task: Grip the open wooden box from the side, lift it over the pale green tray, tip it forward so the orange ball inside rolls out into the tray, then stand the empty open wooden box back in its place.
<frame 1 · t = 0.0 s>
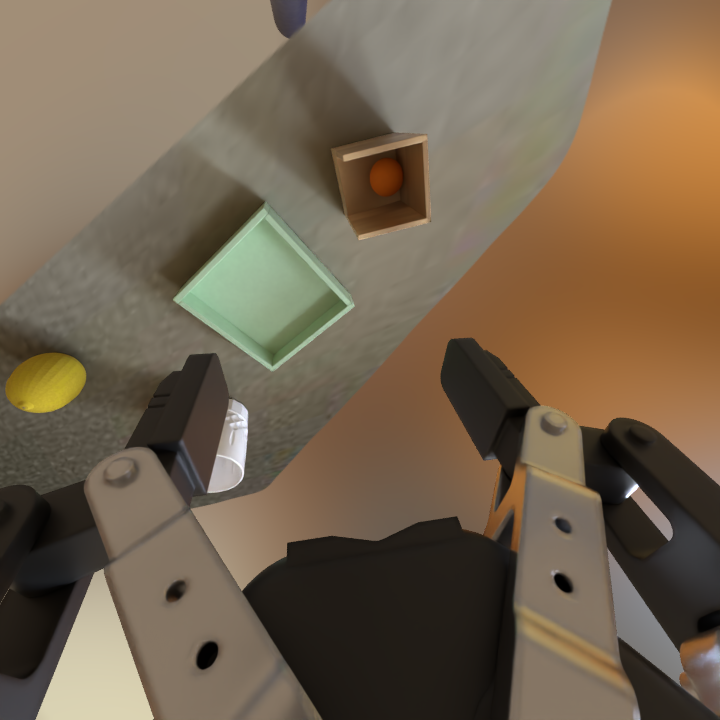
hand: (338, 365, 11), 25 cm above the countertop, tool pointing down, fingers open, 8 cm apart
open wooden box: (366, 176, 30), on the countertop, touching ball
tray: (270, 291, 35), on the countertop
white cup: (224, 412, 45), on the countertop
lemon: (71, 358, 36), on the countertop
ball: (386, 177, 27), point 3 cm above the countertop, touching open wooden box
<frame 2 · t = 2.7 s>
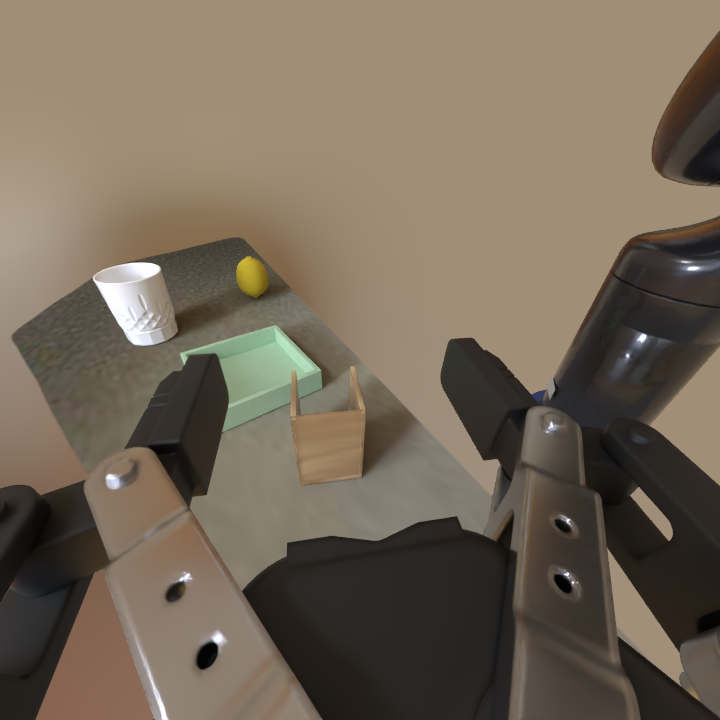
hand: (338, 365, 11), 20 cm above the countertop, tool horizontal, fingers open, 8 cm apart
open wooden box: (328, 453, 32), on the countertop, touching ball
tray: (253, 379, 40), on the countertop
white cup: (155, 335, 48), on the countertop
lemon: (256, 298, 60), on the countertop
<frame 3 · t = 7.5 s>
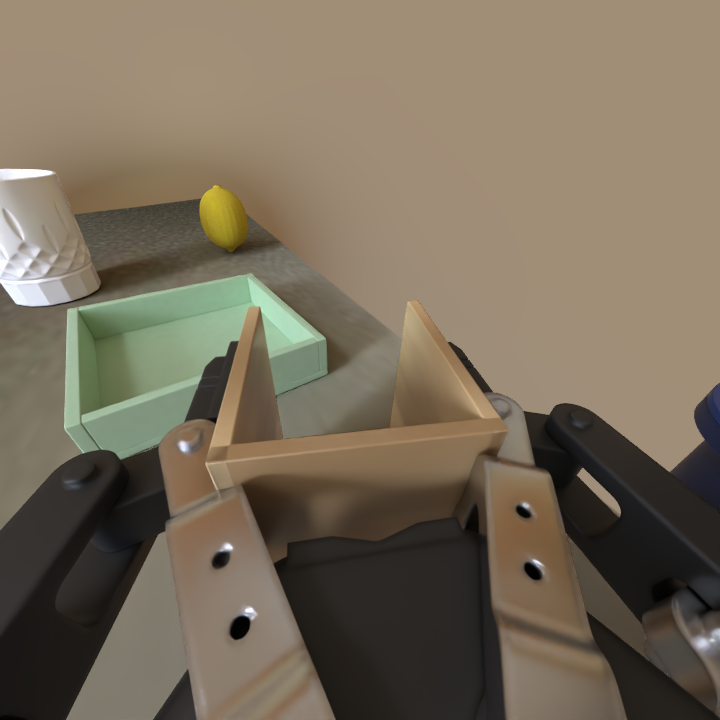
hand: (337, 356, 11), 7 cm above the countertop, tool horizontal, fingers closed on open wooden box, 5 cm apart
open wooden box: (344, 516, 14), on the countertop, touching ball, gripper
tray: (203, 358, 22), on the countertop
white cup: (61, 293, 30), on the countertop
lemon: (231, 253, 42), on the countertop
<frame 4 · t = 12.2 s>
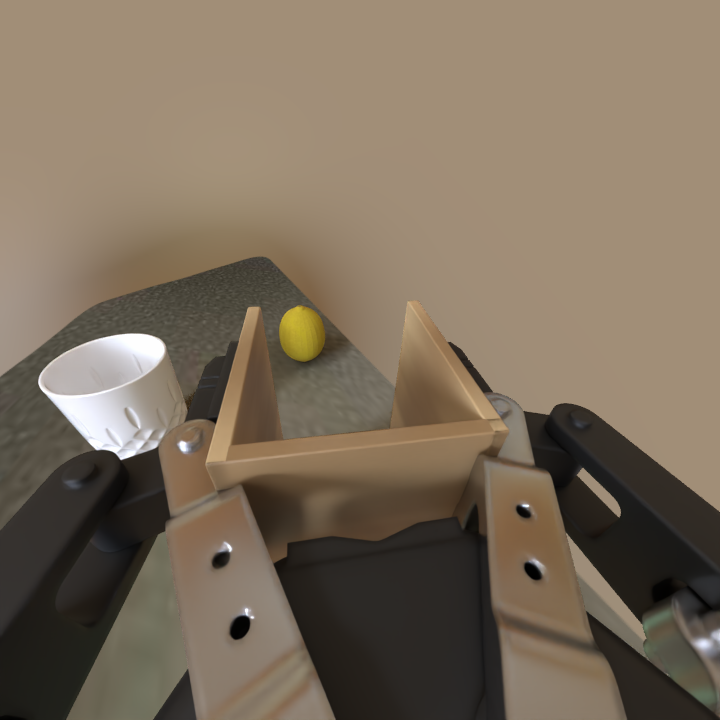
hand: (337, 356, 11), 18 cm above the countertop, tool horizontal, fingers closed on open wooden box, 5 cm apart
open wooden box: (344, 517, 14), point 11 cm above the countertop, touching ball, gripper
white cup: (155, 446, 29), on the countertop
lemon: (305, 362, 41), on the countertop
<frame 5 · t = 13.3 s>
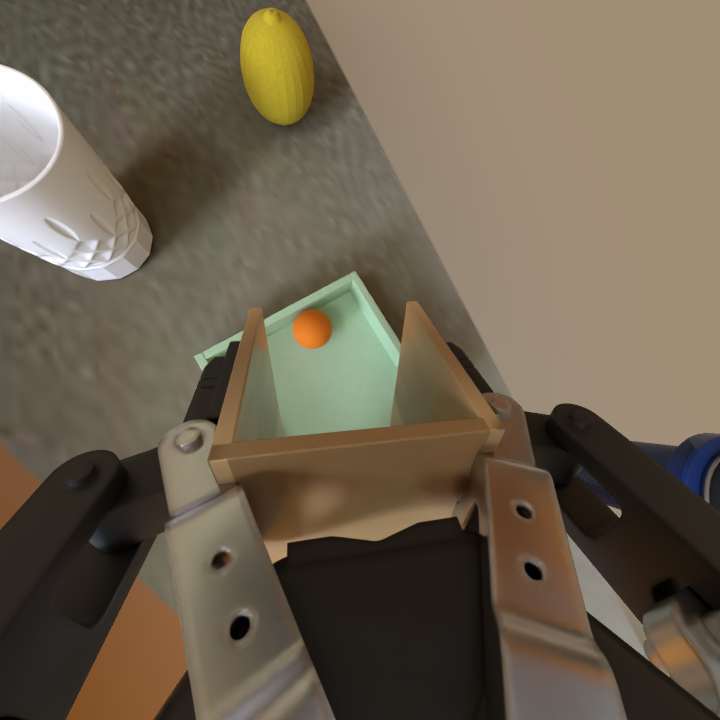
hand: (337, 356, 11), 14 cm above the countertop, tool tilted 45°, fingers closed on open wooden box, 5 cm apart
open wooden box: (344, 515, 14), point 11 cm above the countertop, tilted 45°, touching gripper
tray: (324, 390, 25), on the countertop
white cup: (109, 242, 25), on the countertop
lemon: (283, 122, 28), on the countertop
ball: (312, 329, 24), point 2 cm above the countertop, tilted 116°, touching tray
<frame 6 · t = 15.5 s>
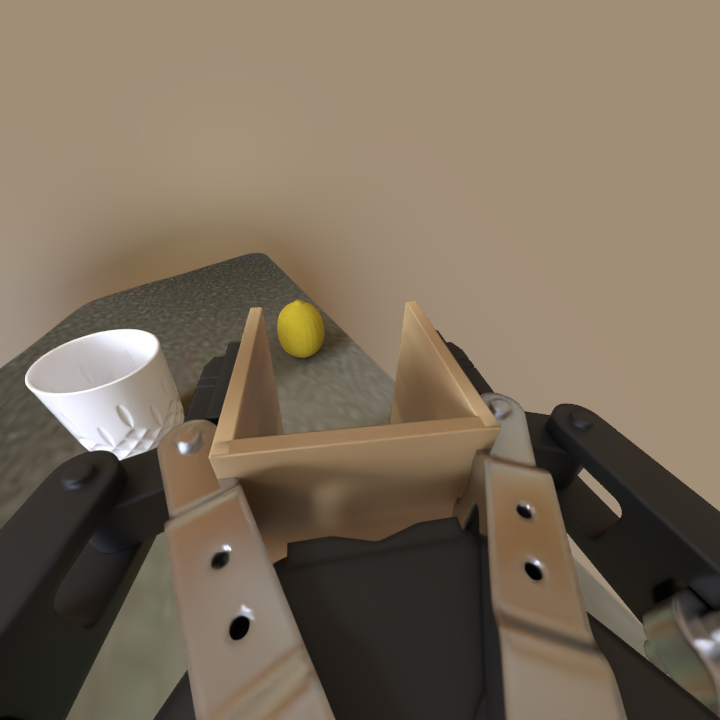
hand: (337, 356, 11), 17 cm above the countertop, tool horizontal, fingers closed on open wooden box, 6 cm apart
open wooden box: (344, 514, 14), point 10 cm above the countertop, touching gripper
white cup: (150, 446, 28), on the countertop
lemon: (303, 358, 40), on the countertop
when the fingers open (7 cm above the countertop, at t = 21.3 s): open wooden box stays where it is, on the countertop.
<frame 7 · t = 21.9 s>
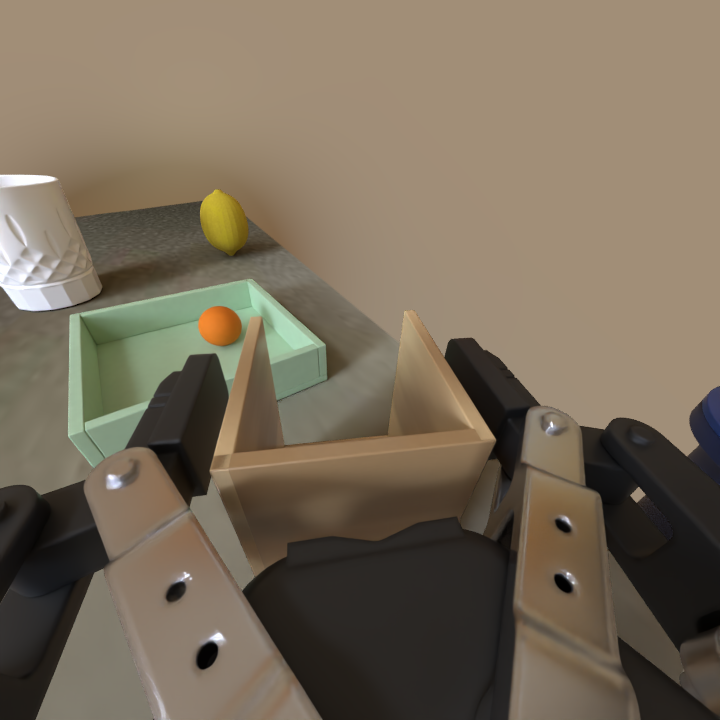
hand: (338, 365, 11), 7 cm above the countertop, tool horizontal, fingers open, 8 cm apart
open wooden box: (343, 518, 14), on the countertop
tray: (203, 364, 23), on the countertop
white cup: (62, 298, 31), on the countertop
lemon: (232, 257, 42), on the countertop
ball: (220, 326, 23), point 2 cm above the countertop, tilted 55°, touching tray
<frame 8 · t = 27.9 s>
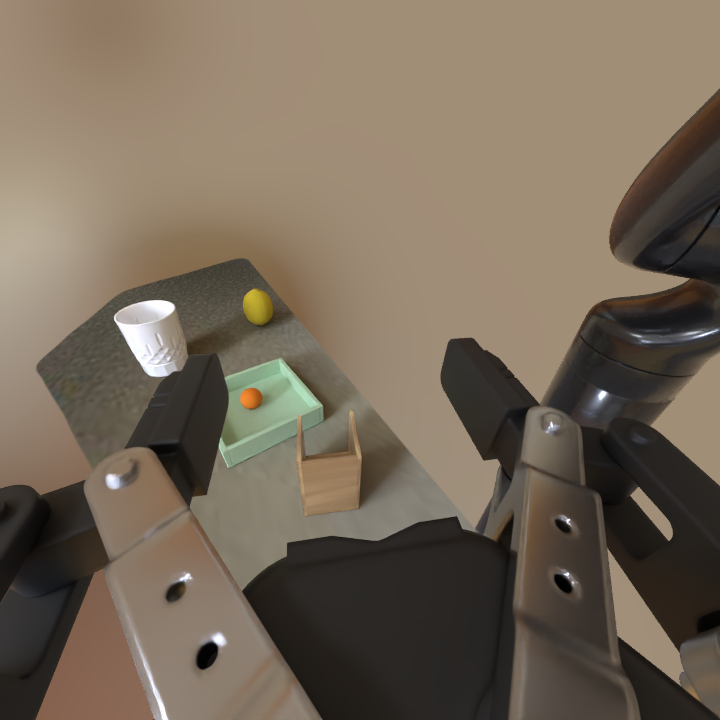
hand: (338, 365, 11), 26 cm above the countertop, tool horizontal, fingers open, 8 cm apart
open wooden box: (329, 485, 35), on the countertop
tray: (260, 412, 44), on the countertop
white cup: (168, 365, 52), on the countertop
lemon: (261, 326, 63), on the countertop
ball: (251, 398, 43), point 2 cm above the countertop, tilted 135°, touching tray
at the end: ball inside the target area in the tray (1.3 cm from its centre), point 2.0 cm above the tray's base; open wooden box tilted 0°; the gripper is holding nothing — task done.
